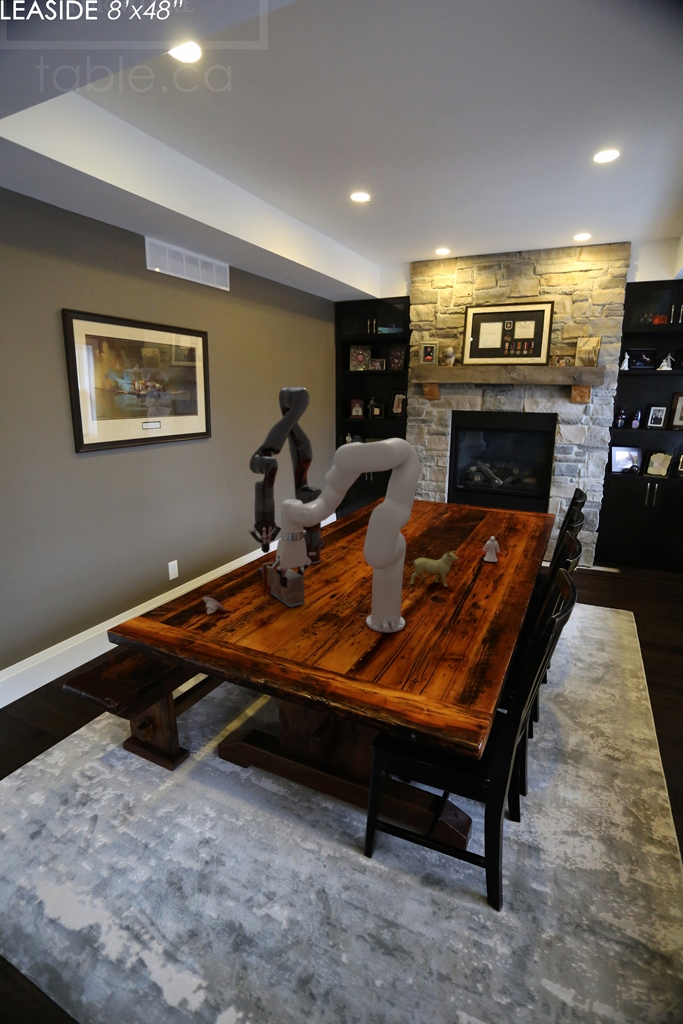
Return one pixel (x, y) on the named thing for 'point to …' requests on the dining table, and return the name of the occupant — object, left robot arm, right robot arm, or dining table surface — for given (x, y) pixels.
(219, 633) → the dining table surface
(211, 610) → the seashell
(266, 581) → the drawer
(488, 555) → the figurine
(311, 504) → the right robot arm
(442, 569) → the toy
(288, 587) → the cabinet
